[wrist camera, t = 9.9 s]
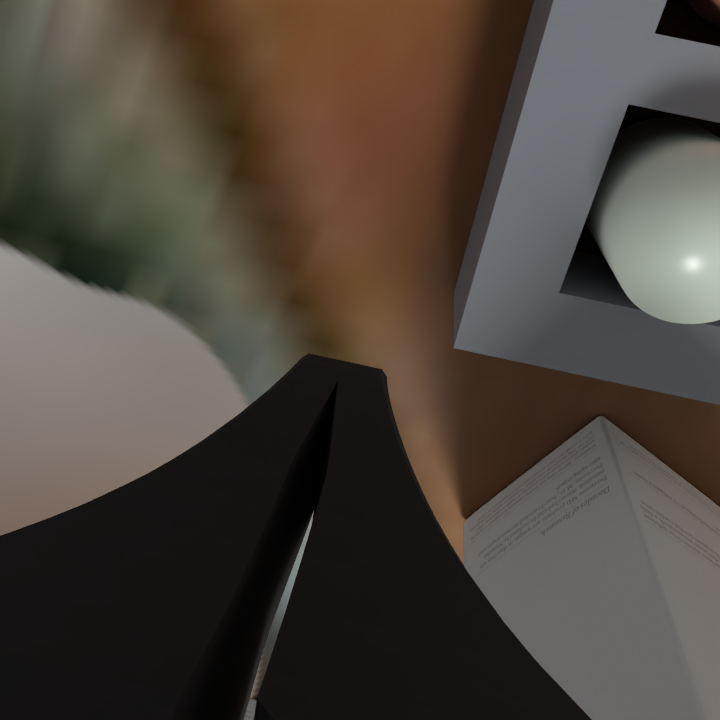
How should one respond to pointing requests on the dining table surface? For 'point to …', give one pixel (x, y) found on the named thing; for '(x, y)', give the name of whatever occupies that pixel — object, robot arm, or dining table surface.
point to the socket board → (580, 202)
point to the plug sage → (663, 219)
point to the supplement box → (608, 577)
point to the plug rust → (707, 9)
